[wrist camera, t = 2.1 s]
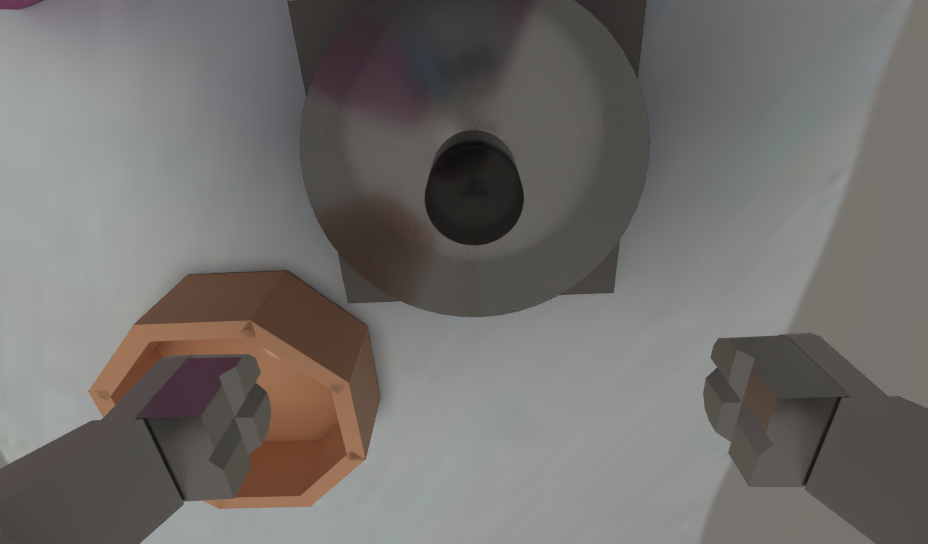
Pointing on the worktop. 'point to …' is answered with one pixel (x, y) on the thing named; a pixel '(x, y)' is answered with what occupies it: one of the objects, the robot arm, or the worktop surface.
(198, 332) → the bowl
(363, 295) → the mat
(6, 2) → the gum box
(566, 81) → the lid
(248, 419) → the robot arm
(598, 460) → the worktop surface
